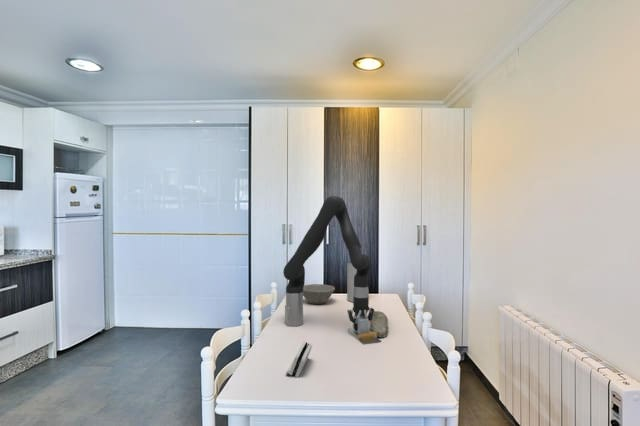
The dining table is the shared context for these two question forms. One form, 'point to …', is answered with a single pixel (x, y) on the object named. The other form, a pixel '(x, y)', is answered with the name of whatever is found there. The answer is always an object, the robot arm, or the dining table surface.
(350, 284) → the cylinder vase
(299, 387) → the dining table surface
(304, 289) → the ceramic bowl
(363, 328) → the module
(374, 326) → the long grey stone
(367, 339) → the rail mount
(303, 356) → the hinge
